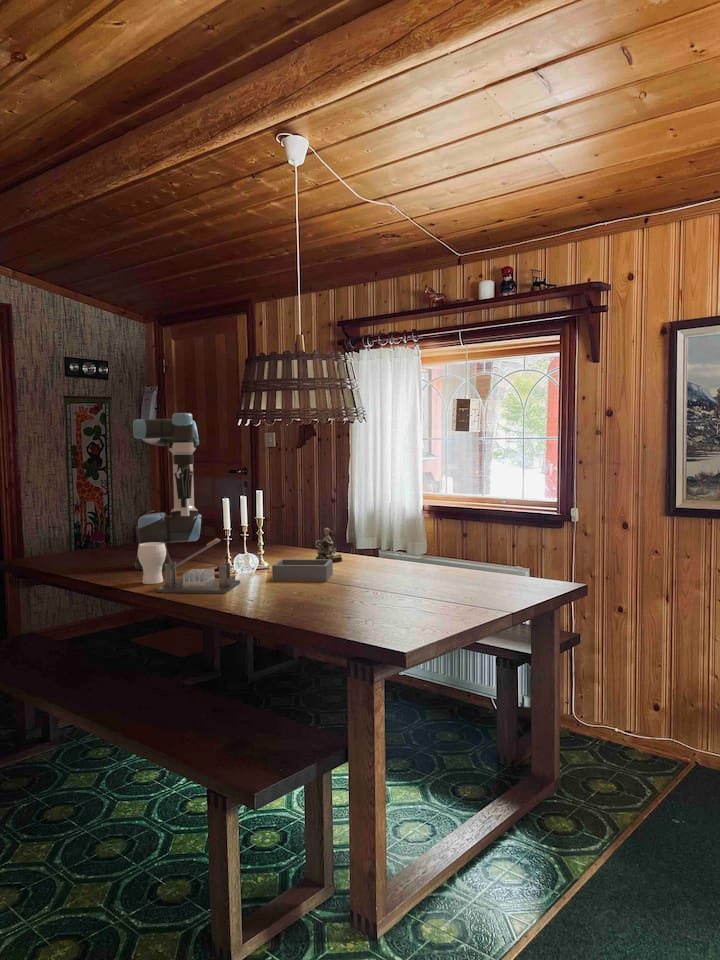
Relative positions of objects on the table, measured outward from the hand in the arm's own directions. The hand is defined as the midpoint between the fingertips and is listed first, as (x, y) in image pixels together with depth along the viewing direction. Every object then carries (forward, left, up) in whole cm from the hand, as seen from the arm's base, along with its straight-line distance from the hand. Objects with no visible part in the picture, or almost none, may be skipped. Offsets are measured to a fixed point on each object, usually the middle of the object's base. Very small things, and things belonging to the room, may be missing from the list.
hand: (185, 515), depth 277 cm
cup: (-3, -15, -27) cm, 31 cm away
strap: (+6, +6, -15) cm, 17 cm away
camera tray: (-16, +42, -26) cm, 52 cm away
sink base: (+6, +7, -26) cm, 28 cm away
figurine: (-53, +46, -27) cm, 75 cm away
